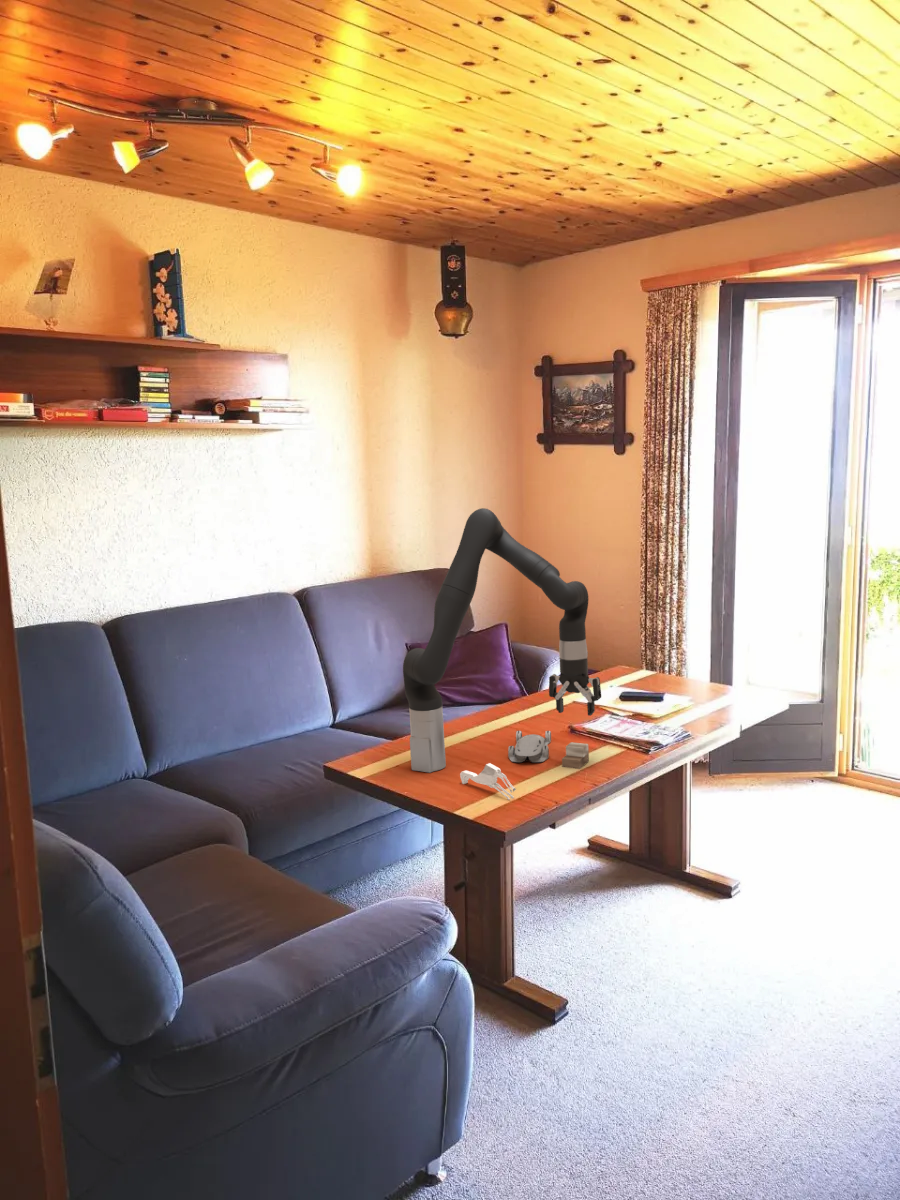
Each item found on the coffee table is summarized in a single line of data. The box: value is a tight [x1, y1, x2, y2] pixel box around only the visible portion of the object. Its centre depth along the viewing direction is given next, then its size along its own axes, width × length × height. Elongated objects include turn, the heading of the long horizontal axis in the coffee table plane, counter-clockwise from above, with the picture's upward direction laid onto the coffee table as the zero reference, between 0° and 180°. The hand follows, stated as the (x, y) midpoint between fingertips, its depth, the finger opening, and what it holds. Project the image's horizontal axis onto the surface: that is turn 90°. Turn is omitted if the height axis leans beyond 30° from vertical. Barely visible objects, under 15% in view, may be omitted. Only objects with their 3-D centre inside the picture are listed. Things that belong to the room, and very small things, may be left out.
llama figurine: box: [459, 762, 517, 801], centre depth 235 cm, size 2×11×18 cm
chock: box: [561, 742, 590, 770], centre depth 252 cm, size 7×5×5 cm
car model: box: [507, 730, 552, 764], centre depth 265 cm, size 11×24×5 cm, turn 169°
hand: (575, 713), depth 252 cm, fingers open, 8 cm apart
